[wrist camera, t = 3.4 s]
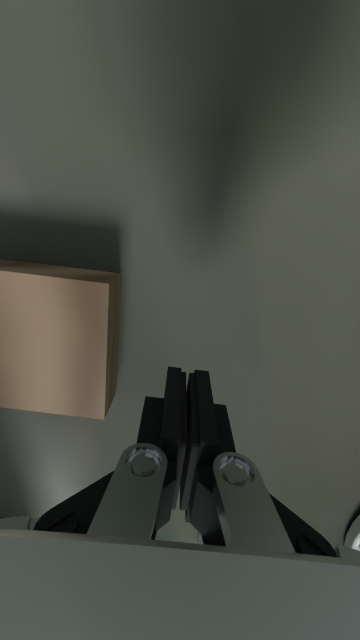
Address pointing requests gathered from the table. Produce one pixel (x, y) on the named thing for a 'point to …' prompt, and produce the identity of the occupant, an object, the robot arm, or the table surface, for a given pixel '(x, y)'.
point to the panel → (58, 338)
